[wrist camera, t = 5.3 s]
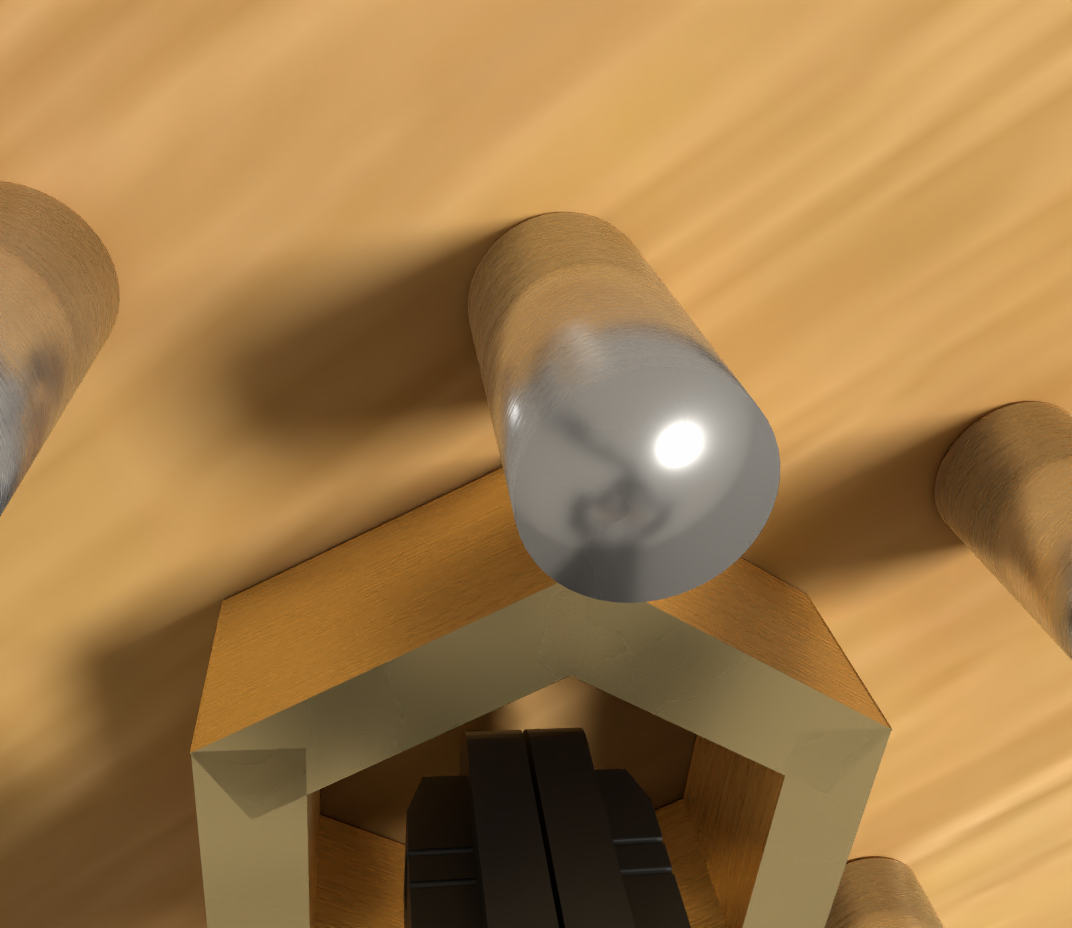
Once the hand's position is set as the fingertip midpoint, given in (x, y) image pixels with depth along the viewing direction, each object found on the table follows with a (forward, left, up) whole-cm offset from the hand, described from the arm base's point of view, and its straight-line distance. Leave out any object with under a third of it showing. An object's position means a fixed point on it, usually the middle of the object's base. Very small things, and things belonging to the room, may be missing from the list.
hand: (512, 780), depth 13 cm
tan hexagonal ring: (0, 0, -1) cm, 1 cm away
